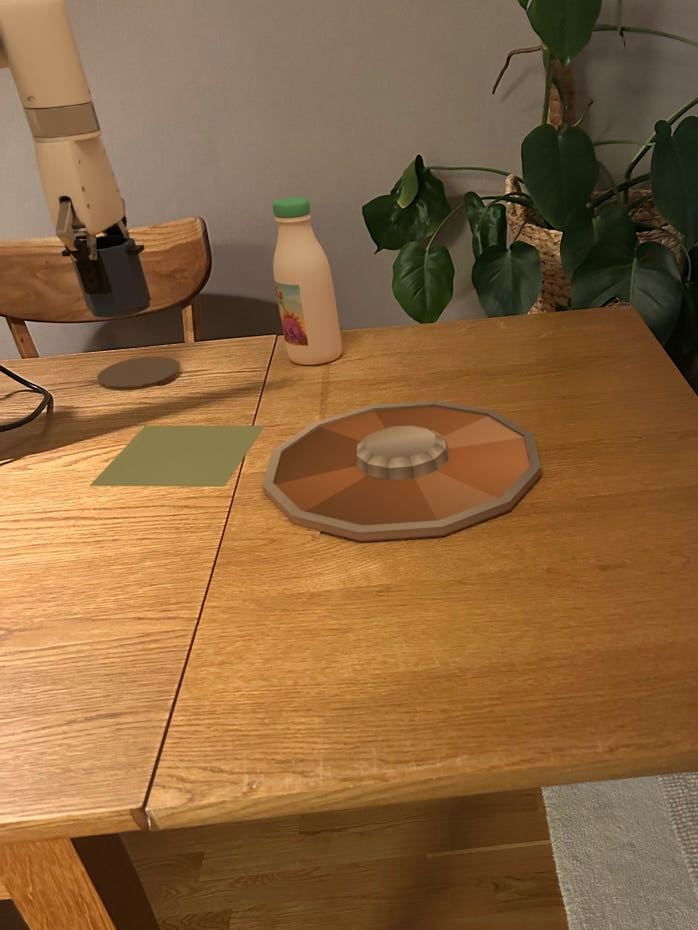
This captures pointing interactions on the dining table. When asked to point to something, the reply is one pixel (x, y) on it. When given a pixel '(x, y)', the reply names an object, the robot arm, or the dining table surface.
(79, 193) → the robot arm
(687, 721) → the dining table surface
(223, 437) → the cloth
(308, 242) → the milk bottle
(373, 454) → the shield
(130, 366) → the disc
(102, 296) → the pot
